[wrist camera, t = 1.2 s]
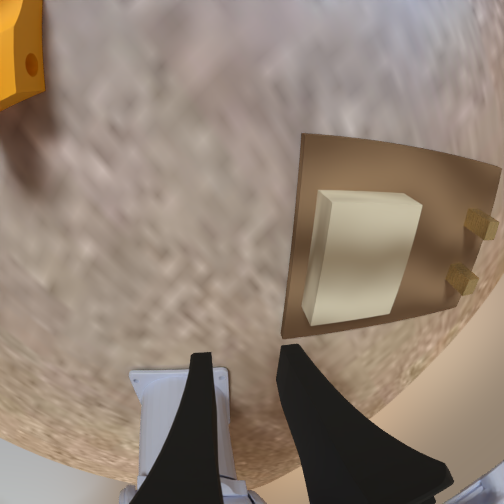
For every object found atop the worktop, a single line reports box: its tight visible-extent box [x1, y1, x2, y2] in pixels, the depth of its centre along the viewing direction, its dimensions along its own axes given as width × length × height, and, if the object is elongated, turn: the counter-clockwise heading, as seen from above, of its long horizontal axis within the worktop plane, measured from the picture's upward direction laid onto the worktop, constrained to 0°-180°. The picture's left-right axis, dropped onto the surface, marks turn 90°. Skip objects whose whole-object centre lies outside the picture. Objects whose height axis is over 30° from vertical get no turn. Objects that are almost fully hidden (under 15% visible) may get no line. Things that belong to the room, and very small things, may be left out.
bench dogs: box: [445, 208, 499, 296], centre depth 19 cm, size 6×2×2 cm, turn 178°
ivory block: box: [302, 190, 423, 326], centre depth 17 cm, size 8×6×2 cm
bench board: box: [281, 133, 502, 339], centre depth 19 cm, size 14×18×1 cm
